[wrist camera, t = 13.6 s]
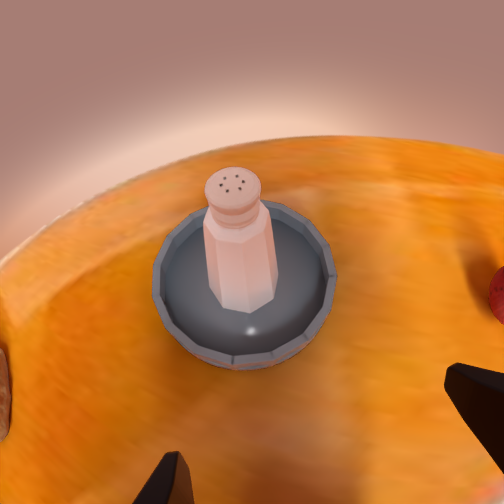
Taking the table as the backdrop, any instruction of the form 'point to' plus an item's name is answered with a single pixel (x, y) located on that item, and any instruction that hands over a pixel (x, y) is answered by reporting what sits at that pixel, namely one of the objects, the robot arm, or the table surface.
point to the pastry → (4, 396)
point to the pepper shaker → (239, 241)
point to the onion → (497, 295)
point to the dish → (236, 322)
